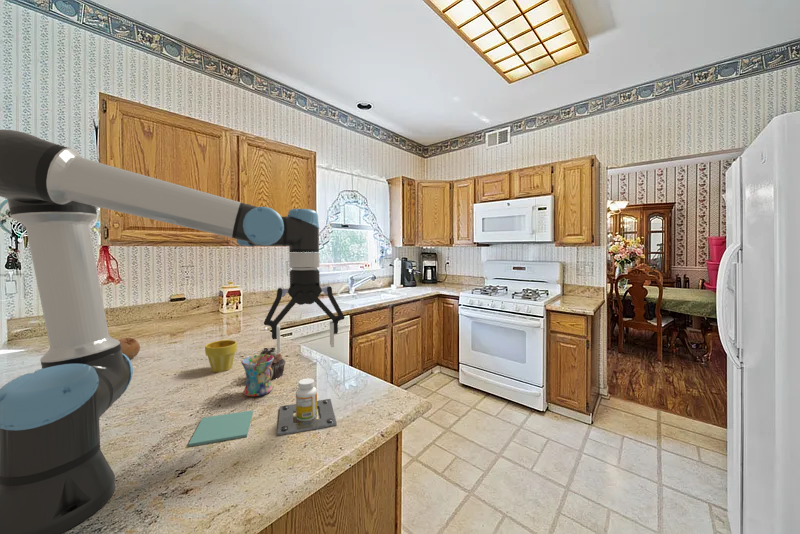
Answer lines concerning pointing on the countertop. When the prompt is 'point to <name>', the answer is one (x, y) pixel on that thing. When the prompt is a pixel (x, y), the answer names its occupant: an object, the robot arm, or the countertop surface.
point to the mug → (258, 374)
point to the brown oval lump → (129, 347)
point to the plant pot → (221, 354)
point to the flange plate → (289, 427)
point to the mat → (222, 428)
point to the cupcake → (275, 362)
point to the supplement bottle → (306, 400)
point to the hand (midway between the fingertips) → (306, 348)
